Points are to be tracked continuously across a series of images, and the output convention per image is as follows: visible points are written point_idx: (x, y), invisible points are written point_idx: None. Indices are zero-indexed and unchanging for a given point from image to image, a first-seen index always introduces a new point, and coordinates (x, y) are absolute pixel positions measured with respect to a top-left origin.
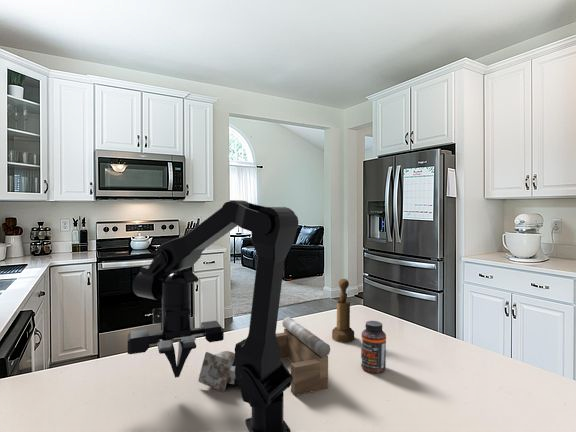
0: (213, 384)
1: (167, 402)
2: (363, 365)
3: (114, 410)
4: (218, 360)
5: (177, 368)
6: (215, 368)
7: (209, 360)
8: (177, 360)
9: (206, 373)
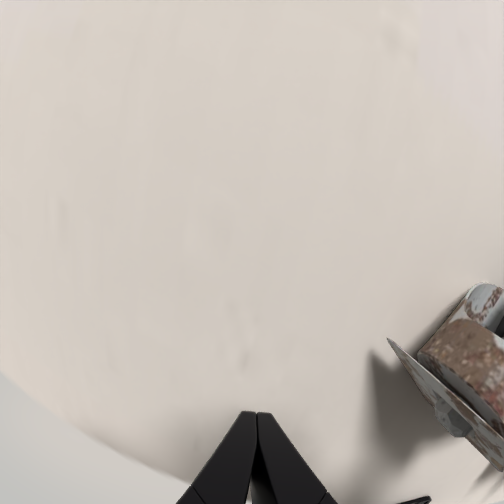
0: (421, 386)
1: (200, 385)
2: None
3: (20, 322)
4: (493, 453)
5: (253, 483)
6: (462, 435)
7: (481, 431)
8: (268, 496)
9: (432, 387)
